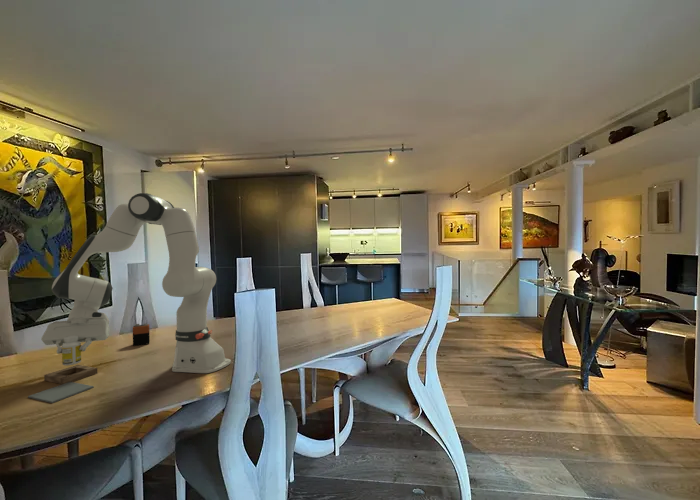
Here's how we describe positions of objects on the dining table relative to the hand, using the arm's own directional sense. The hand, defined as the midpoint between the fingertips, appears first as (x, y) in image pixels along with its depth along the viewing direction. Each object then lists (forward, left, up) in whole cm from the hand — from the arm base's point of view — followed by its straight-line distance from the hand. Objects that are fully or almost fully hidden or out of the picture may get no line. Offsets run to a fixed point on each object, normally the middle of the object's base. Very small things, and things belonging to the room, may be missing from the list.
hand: (70, 351), depth 124 cm
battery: (+15, -40, -10) cm, 43 cm away
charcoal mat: (-11, +10, -9) cm, 18 cm away
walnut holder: (+1, -1, -9) cm, 9 cm away
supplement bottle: (0, -1, -5) cm, 5 cm away
